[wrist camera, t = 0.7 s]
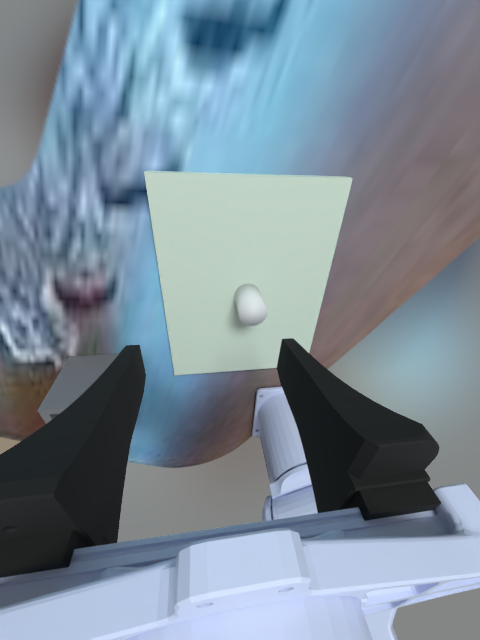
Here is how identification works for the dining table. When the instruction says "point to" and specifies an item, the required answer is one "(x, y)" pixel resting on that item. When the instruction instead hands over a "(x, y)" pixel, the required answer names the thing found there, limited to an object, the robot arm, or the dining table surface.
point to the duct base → (242, 262)
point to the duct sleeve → (73, 382)
